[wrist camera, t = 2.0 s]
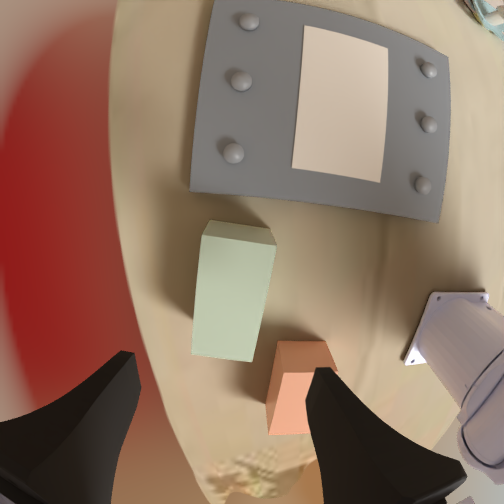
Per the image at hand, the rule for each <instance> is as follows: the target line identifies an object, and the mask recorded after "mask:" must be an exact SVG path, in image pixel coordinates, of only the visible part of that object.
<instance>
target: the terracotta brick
mask: <svg viewBox="0 0 504 504" xmlns="http://www.w3.org/2000/svg"><path fill="white" fill-rule="evenodd" d="M316 367H331V368H332V370H333V371H334V372H335V373H336V374H337V373H338V370H337V367H336V365H335V363H334V360H333V358H332V355H331V353H330V351H329V348H328V346H327V344H326V341H278V342H277V348H276V353H275V359H274V364H273V369H272V374H271V379H270V384H269V389H268V394H267V399H266V415H267V425H268V435H284V434H305V433H311V432H310V429H309V425H308V420H307V413H306V404H305V399H306V396H307V393H308V390H309V387H310V384H311V381H312V378H313V375H314V372H315V369H316Z"/></svg>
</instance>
